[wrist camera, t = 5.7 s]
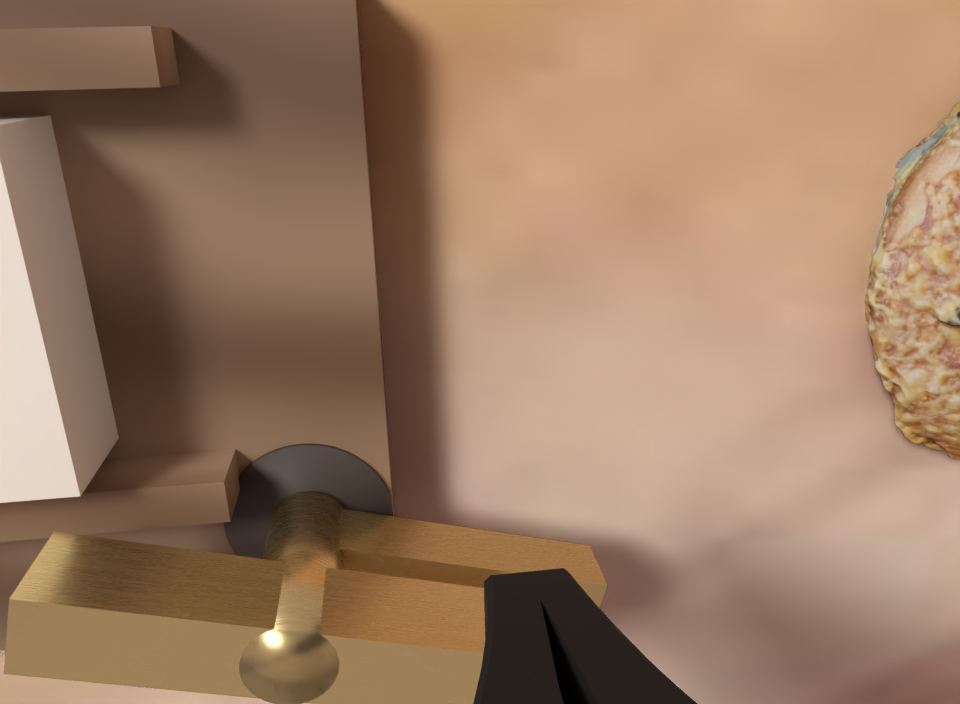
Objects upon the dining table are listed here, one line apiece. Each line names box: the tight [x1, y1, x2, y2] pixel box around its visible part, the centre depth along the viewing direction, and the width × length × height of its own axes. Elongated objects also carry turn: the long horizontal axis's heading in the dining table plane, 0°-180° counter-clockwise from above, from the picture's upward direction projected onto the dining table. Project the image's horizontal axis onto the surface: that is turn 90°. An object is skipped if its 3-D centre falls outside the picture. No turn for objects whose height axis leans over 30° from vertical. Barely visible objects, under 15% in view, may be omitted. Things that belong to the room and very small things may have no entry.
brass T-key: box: [4, 491, 608, 704], centre depth 17 cm, size 12×2×5 cm, turn 75°
